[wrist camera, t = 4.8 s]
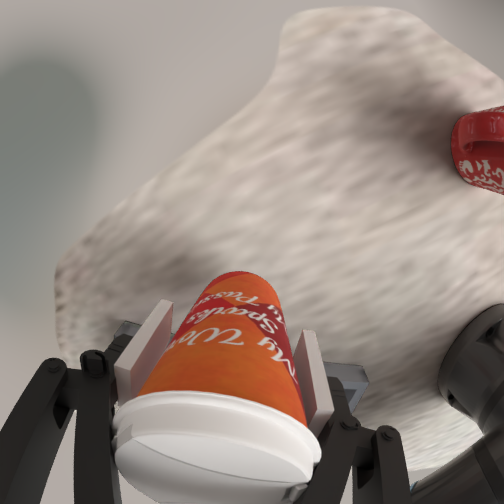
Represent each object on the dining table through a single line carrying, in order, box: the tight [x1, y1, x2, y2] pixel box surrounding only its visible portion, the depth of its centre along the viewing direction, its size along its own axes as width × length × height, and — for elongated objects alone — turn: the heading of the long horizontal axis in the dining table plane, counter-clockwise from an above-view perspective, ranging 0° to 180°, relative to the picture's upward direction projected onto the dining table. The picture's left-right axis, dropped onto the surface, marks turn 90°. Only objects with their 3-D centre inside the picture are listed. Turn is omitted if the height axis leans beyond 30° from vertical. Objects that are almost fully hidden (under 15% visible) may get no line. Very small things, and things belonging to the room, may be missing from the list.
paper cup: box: [111, 271, 321, 504], centre depth 14 cm, size 8×8×14 cm
